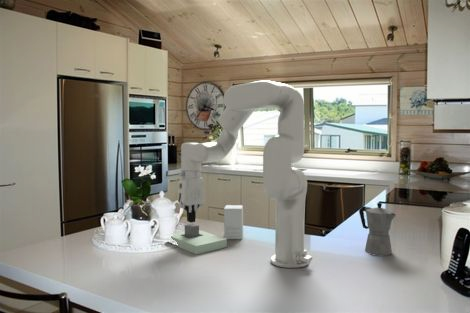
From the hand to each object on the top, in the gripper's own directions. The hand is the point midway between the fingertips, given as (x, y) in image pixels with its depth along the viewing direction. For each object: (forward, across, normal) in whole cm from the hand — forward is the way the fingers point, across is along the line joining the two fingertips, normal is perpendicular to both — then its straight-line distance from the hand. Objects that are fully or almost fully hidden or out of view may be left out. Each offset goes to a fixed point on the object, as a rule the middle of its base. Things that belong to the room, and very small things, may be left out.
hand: (191, 221), depth 160 cm
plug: (+8, 0, 0) cm, 8 cm away
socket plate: (+8, 0, -3) cm, 9 cm away
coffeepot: (+8, +45, -52) cm, 70 cm away
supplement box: (+8, +18, -4) cm, 20 cm away
